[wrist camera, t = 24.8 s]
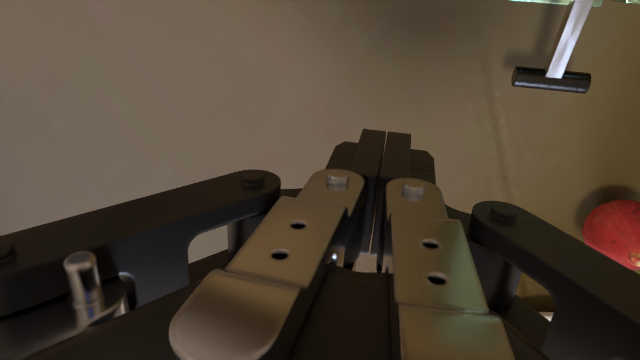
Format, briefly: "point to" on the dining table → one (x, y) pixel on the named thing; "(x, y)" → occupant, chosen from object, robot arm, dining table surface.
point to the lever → (559, 57)
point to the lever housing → (597, 3)
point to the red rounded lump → (615, 231)
